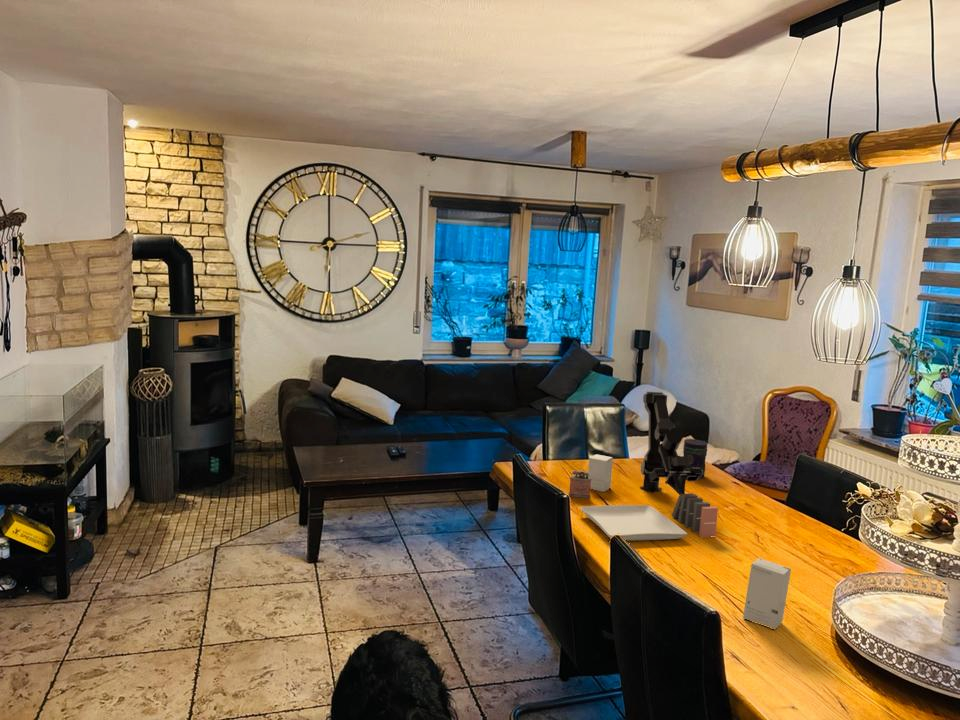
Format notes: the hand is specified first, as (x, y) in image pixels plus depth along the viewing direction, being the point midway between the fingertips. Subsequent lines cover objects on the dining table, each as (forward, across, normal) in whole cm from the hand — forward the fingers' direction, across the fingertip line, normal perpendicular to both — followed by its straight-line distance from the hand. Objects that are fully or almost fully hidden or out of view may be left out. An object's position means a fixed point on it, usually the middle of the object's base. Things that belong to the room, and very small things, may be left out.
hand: (683, 496), depth 247 cm
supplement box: (-19, -16, +31) cm, 40 cm away
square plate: (+11, -22, +2) cm, 25 cm away
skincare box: (+56, -18, -44) cm, 73 cm away
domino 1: (+5, 0, +7) cm, 8 cm away
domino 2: (+8, 0, +4) cm, 9 cm away
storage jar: (-29, +34, +41) cm, 61 cm away
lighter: (-13, -28, +25) cm, 39 cm away
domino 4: (+14, 0, -2) cm, 15 cm away
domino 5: (+18, 0, -6) cm, 18 cm away
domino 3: (+11, 0, +1) cm, 11 cm away
